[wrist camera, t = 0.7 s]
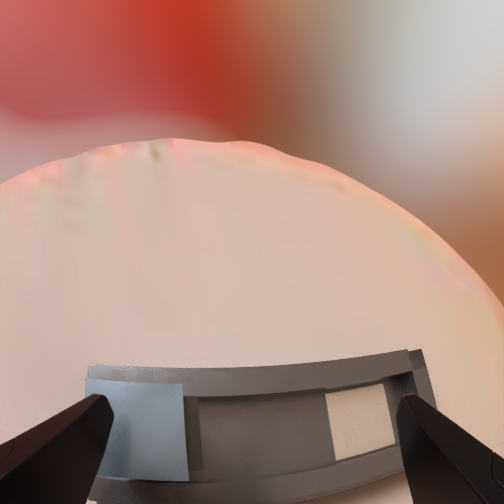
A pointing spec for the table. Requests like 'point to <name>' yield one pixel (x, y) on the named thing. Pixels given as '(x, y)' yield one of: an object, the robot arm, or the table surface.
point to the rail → (253, 429)
